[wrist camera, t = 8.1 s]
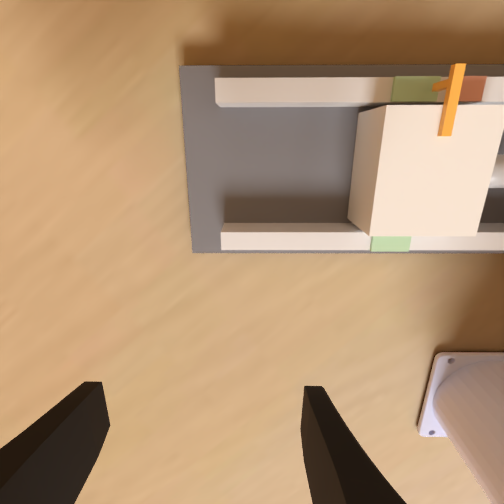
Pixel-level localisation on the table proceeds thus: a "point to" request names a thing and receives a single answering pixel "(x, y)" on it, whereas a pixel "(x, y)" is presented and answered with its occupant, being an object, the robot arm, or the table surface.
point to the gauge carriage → (426, 165)
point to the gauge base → (306, 154)
